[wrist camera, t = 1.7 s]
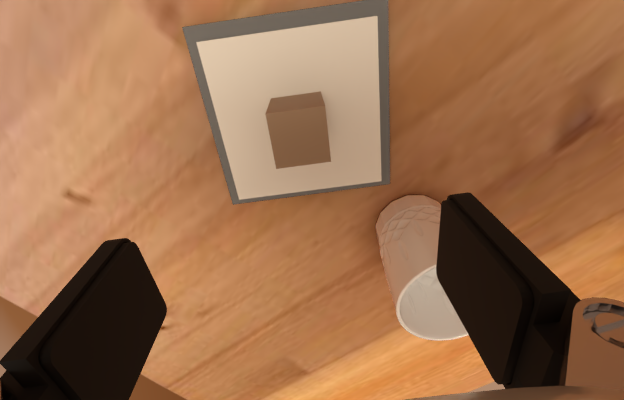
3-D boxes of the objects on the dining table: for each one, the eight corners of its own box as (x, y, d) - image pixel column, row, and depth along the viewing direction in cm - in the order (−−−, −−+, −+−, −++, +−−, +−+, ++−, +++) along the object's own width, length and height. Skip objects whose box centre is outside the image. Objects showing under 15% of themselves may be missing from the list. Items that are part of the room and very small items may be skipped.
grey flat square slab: (386, -3, 22) (388, -4, 21) (388, 181, 29) (390, 184, 28) (184, 27, 22) (182, 27, 22) (234, 201, 29) (232, 204, 29)
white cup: (464, 228, 32) (527, 307, 23) (395, 268, 34) (429, 354, 25) (425, 171, 28) (482, 238, 20) (352, 219, 31) (374, 298, 22)
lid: (373, 16, 22) (395, 14, 17) (378, 175, 28) (396, 208, 23) (201, 41, 22) (172, 46, 17) (241, 193, 28) (229, 230, 23)
